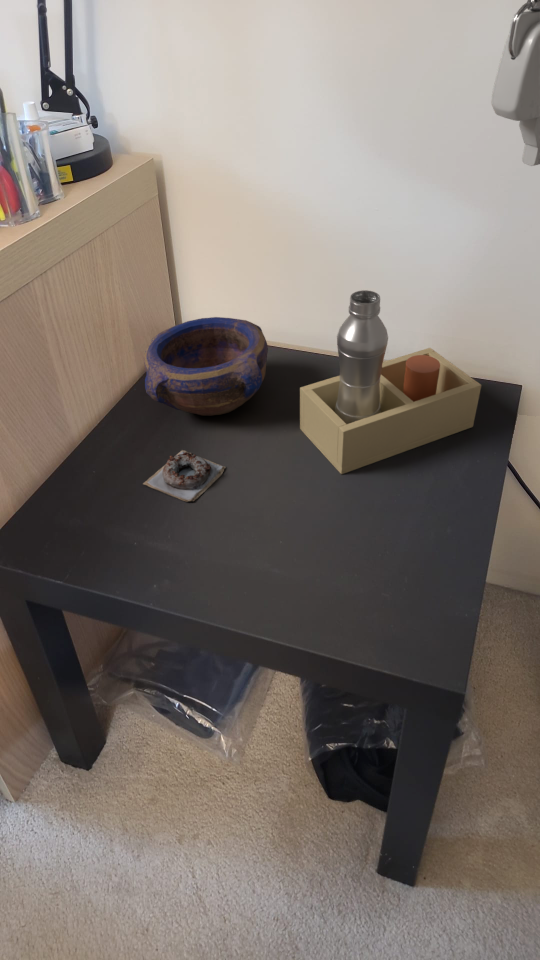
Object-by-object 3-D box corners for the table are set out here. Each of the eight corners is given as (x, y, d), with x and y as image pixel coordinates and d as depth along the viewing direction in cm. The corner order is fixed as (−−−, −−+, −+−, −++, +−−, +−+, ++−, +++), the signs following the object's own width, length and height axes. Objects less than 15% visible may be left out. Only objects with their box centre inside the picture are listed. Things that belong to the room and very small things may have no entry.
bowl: (160, 367, 111) (152, 310, 104) (271, 366, 110) (269, 309, 104) (141, 434, 97) (129, 374, 91) (267, 434, 97) (264, 373, 90)
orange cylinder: (439, 415, 97) (447, 366, 92) (412, 425, 96) (419, 376, 90) (420, 399, 100) (426, 351, 95) (394, 408, 99) (399, 360, 93)
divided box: (473, 426, 96) (481, 384, 92) (341, 474, 89) (343, 431, 85) (424, 387, 104) (430, 347, 100) (299, 428, 97) (299, 387, 93)
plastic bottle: (384, 421, 96) (397, 288, 83) (374, 450, 91) (386, 313, 78) (339, 414, 98) (345, 281, 84) (327, 442, 93) (331, 306, 80)
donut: (190, 505, 86) (188, 493, 85) (143, 484, 89) (140, 472, 88) (228, 468, 91) (227, 456, 90) (182, 450, 94) (180, 438, 93)
